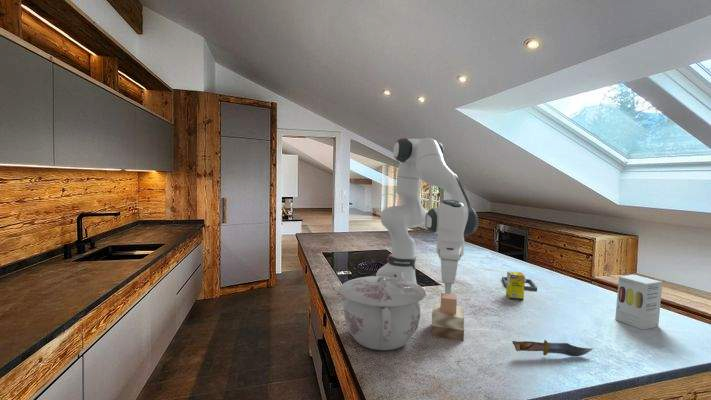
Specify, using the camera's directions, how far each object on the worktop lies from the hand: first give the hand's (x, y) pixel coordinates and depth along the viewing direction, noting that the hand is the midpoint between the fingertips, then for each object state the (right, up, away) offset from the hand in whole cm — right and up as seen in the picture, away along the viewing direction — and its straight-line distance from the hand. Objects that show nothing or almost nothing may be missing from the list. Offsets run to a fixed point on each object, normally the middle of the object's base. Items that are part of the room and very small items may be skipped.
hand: (448, 288), depth 112 cm
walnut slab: (0, -15, +1) cm, 15 cm away
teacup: (+49, -13, +52) cm, 72 cm away
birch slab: (0, -11, +1) cm, 11 cm away
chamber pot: (-23, -15, -6) cm, 28 cm away
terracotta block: (0, -7, 0) cm, 7 cm away
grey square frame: (+50, -12, +53) cm, 74 cm away
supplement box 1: (+39, -14, +35) cm, 54 cm away
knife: (+27, -17, -14) cm, 35 cm away
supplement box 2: (+73, -16, +10) cm, 75 cm away
